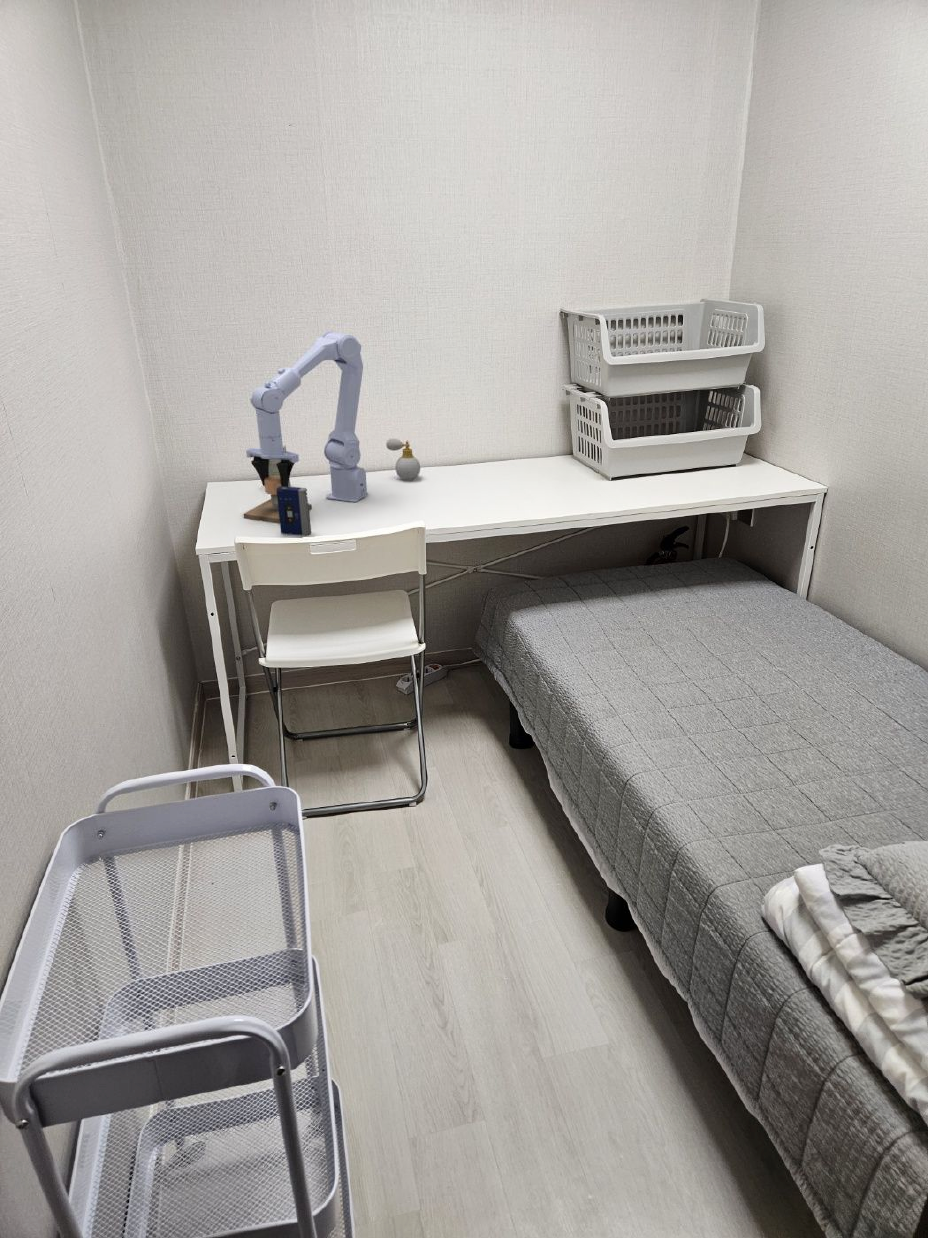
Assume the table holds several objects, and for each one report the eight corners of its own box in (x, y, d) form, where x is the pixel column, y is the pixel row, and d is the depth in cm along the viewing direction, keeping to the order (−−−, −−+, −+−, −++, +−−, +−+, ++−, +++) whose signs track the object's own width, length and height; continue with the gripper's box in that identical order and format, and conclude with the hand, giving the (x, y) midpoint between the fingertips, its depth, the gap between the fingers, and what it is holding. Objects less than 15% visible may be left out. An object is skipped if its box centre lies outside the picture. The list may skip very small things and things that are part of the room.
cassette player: (280, 533, 209) (275, 487, 203) (284, 530, 211) (279, 484, 205) (308, 535, 208) (304, 489, 202) (311, 532, 210) (307, 486, 204)
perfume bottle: (422, 481, 247) (421, 441, 242) (390, 483, 245) (388, 443, 240) (418, 474, 254) (417, 435, 248) (386, 476, 252) (385, 437, 246)
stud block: (312, 508, 226) (310, 490, 223) (286, 524, 215) (284, 505, 212) (270, 503, 230) (268, 484, 227) (244, 518, 219) (241, 499, 216)
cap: (289, 489, 221) (288, 476, 219) (279, 495, 216) (277, 482, 215) (272, 487, 222) (271, 474, 221) (262, 493, 218) (260, 480, 216)
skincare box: (290, 485, 243) (286, 445, 238) (286, 490, 240) (282, 449, 234) (269, 485, 244) (265, 444, 238) (265, 489, 240) (260, 448, 235)
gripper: (237, 436, 211) (243, 487, 218) (286, 441, 207) (291, 493, 213) (252, 429, 217) (258, 479, 224) (301, 434, 213) (305, 485, 219)
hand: (275, 486), depth 219 cm, fingers closed on cap, 5 cm apart
